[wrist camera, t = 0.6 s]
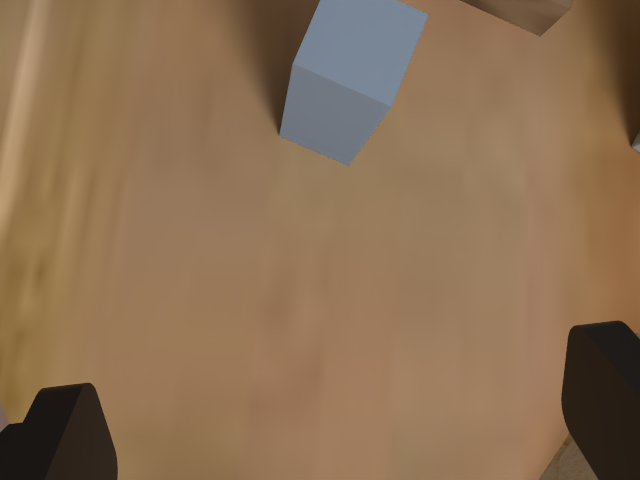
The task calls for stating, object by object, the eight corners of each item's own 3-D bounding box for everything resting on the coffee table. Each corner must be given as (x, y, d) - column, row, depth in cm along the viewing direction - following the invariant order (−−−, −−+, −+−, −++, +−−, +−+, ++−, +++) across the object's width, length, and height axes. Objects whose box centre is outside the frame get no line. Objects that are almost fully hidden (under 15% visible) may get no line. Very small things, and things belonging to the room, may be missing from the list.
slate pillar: (279, 135, 36) (292, 63, 26) (307, 69, 37) (332, -29, 26) (348, 165, 37) (391, 106, 26) (375, 99, 37) (428, 14, 26)
